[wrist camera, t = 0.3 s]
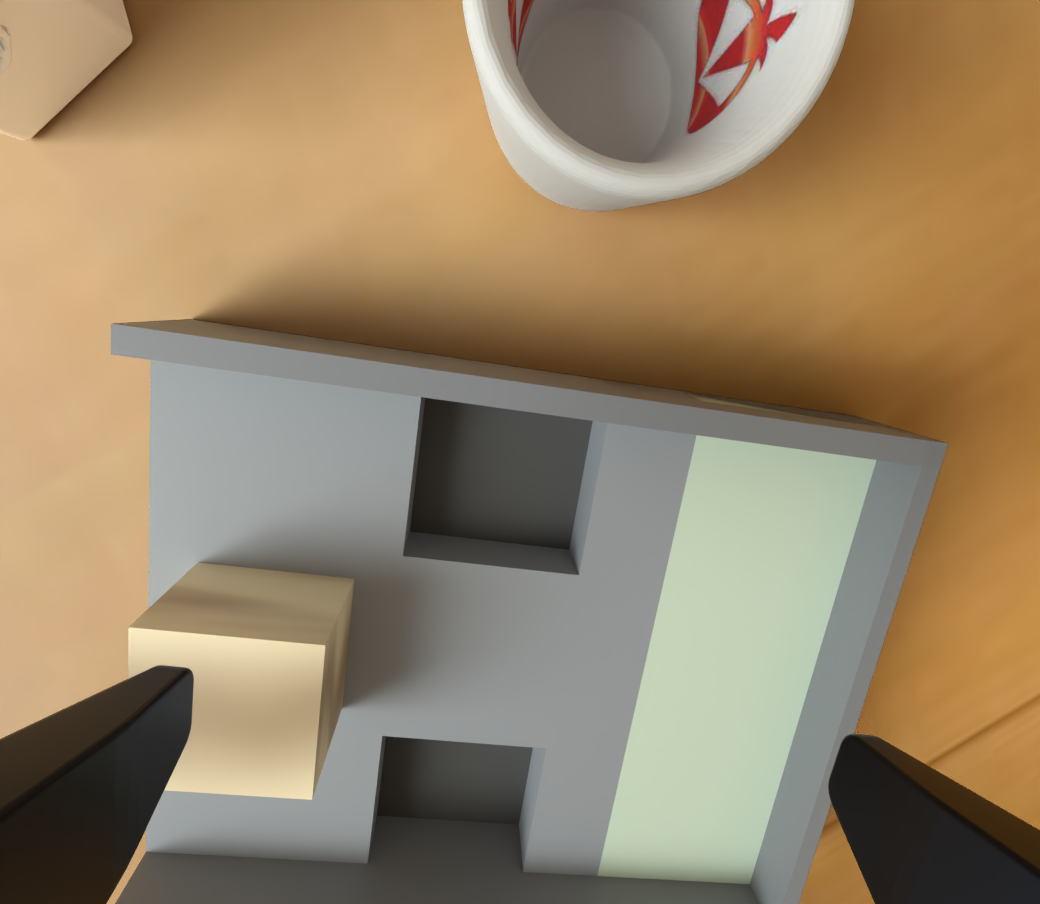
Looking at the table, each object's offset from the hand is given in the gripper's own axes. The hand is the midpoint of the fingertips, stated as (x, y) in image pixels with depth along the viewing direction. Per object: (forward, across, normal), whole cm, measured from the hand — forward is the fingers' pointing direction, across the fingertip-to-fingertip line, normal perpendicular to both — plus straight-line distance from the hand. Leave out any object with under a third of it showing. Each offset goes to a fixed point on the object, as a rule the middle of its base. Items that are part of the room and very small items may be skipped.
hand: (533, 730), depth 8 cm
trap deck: (+14, -1, +6) cm, 16 cm away
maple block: (+12, +7, +6) cm, 15 cm away
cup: (+14, -1, -14) cm, 20 cm away
